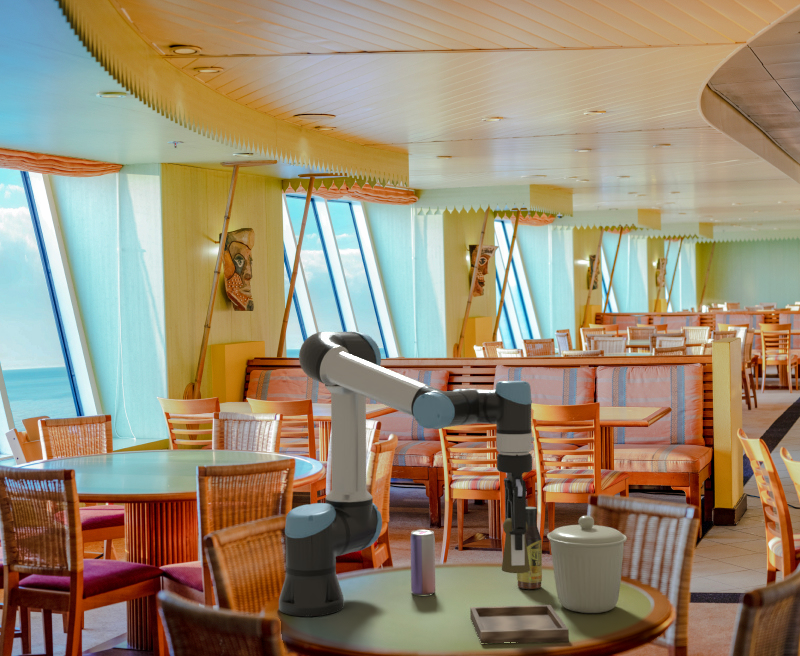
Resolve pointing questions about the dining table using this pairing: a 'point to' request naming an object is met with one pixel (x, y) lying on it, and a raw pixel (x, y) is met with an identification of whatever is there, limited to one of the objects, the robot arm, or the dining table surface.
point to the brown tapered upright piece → (507, 552)
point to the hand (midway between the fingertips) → (515, 561)
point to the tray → (518, 624)
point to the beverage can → (422, 562)
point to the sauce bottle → (532, 553)
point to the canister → (587, 565)
